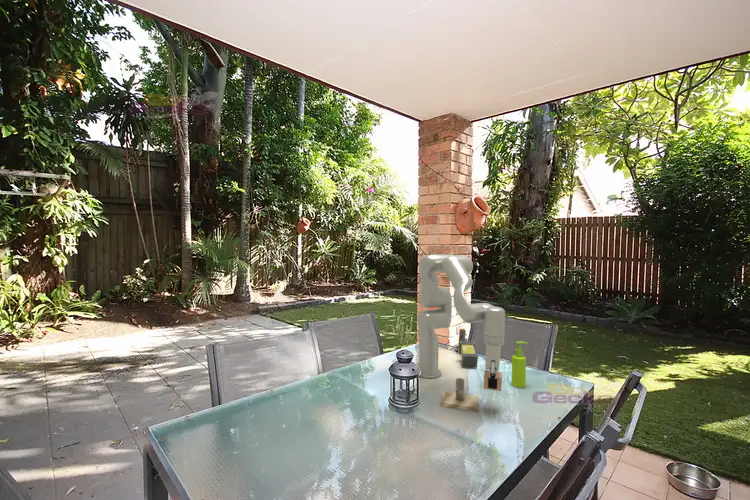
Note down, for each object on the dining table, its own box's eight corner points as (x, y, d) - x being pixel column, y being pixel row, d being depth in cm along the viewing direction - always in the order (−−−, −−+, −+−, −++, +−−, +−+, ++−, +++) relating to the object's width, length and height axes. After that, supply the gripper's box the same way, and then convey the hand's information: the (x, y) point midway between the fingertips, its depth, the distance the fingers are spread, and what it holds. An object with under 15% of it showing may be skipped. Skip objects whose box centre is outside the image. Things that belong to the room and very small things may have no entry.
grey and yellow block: (475, 382, 189) (466, 347, 216) (478, 356, 182) (468, 323, 210) (460, 381, 189) (453, 346, 217) (462, 355, 183) (455, 323, 211)
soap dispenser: (530, 387, 159) (530, 343, 159) (514, 387, 159) (514, 343, 159) (524, 382, 165) (525, 340, 165) (509, 382, 165) (510, 339, 165)
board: (440, 406, 141) (440, 382, 141) (444, 395, 151) (444, 372, 151) (477, 411, 136) (477, 387, 136) (478, 399, 146) (478, 377, 146)
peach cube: (483, 388, 136) (484, 375, 136) (484, 382, 142) (484, 369, 142) (501, 391, 134) (501, 378, 134) (501, 384, 140) (501, 372, 140)
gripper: (484, 332, 147) (483, 375, 147) (482, 344, 130) (481, 392, 131) (503, 334, 144) (502, 377, 145) (504, 346, 128) (503, 395, 128)
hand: (492, 384), depth 138 cm, fingers closed on peach cube, 6 cm apart
